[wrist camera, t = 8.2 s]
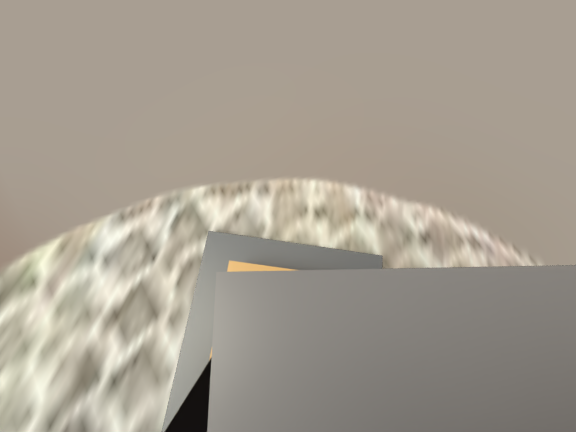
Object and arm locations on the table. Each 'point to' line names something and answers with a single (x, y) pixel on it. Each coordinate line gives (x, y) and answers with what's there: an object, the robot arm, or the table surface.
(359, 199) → the table surface
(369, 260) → the socket plate
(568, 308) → the plug
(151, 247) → the table surface
